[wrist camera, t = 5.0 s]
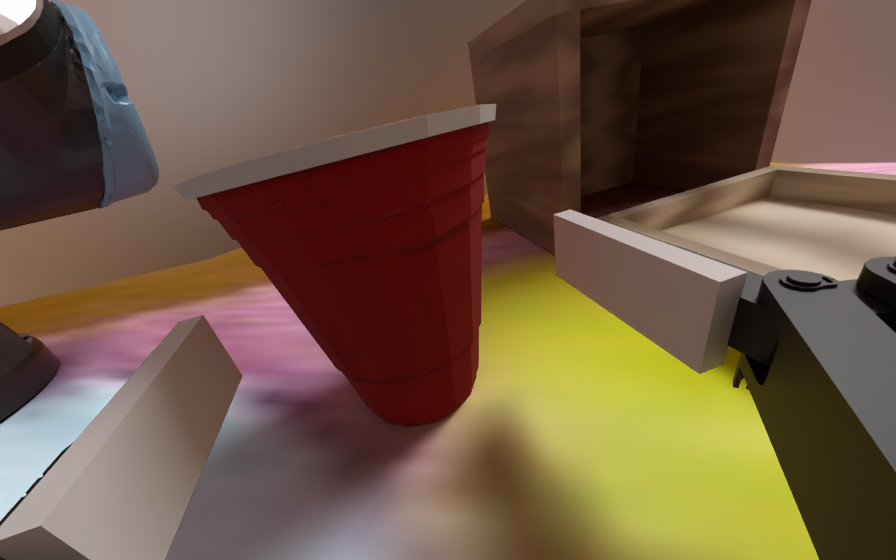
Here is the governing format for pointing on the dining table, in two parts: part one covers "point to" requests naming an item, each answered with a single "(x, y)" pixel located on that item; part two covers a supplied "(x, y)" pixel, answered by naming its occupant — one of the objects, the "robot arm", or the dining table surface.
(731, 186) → the tray
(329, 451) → the dining table surface
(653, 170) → the block
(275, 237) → the plastic cup
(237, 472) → the dining table surface
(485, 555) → the dining table surface
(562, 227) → the robot arm
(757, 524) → the dining table surface
